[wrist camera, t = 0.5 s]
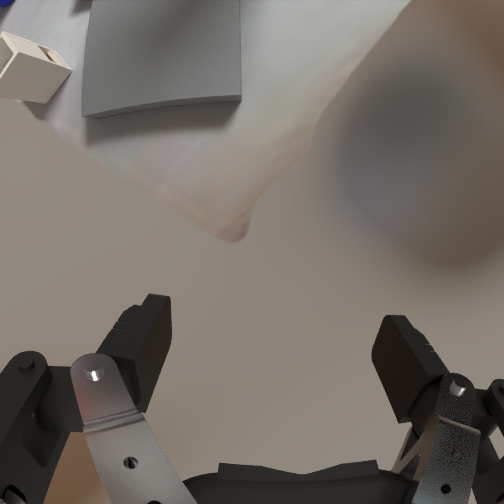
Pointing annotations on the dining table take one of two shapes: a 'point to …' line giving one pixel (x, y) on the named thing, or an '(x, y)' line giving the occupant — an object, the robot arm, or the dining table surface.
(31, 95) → the white hollow square box
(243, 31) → the dining table surface
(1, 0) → the mug
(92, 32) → the dock
